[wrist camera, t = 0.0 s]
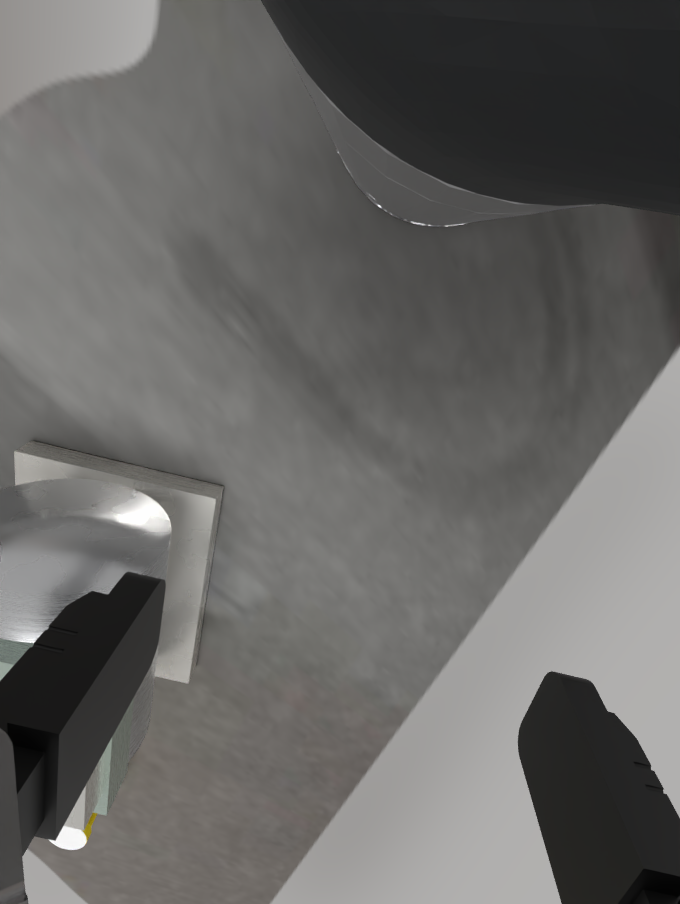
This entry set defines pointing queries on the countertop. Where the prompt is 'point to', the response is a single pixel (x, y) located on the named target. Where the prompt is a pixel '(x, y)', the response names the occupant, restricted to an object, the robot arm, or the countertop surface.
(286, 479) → the countertop surface
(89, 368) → the countertop surface
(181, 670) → the motor
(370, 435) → the countertop surface
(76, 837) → the yellow watch
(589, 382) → the countertop surface
